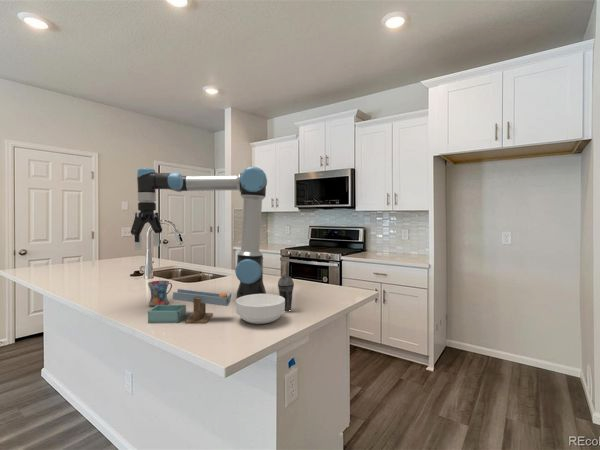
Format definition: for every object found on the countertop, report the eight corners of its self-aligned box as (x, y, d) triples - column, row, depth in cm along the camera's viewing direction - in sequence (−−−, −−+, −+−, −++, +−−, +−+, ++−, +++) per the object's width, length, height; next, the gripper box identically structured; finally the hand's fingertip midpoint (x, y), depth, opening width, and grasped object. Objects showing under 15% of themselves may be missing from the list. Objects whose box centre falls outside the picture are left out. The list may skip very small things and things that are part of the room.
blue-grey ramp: (233, 298, 144) (234, 288, 144) (227, 306, 131) (228, 296, 131) (182, 292, 143) (183, 282, 143) (172, 300, 130) (173, 289, 130)
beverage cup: (296, 309, 148) (296, 265, 148) (290, 313, 141) (290, 267, 141) (281, 307, 151) (281, 264, 150) (274, 311, 144) (275, 266, 143)
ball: (228, 299, 136) (228, 291, 136) (226, 302, 132) (227, 293, 132) (219, 299, 136) (219, 291, 136) (217, 302, 132) (218, 293, 132)
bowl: (264, 332, 119) (264, 309, 119) (225, 322, 130) (225, 301, 129) (294, 318, 136) (294, 297, 136) (257, 310, 146) (257, 291, 146)
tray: (185, 315, 138) (185, 304, 138) (178, 322, 129) (178, 311, 129) (157, 315, 138) (157, 305, 138) (147, 322, 129) (147, 311, 129)
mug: (156, 308, 148) (156, 285, 147) (143, 305, 152) (143, 283, 152) (178, 302, 158) (178, 280, 158) (165, 300, 163) (165, 278, 162)
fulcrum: (212, 314, 140) (212, 292, 139) (206, 323, 129) (206, 299, 128) (193, 314, 139) (193, 292, 139) (185, 323, 128) (185, 299, 128)
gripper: (155, 202, 164) (156, 245, 165) (120, 201, 140) (121, 250, 140) (169, 202, 163) (170, 245, 164) (136, 201, 138) (137, 251, 139)
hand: (147, 248), depth 152 cm, fingers open, 13 cm apart
